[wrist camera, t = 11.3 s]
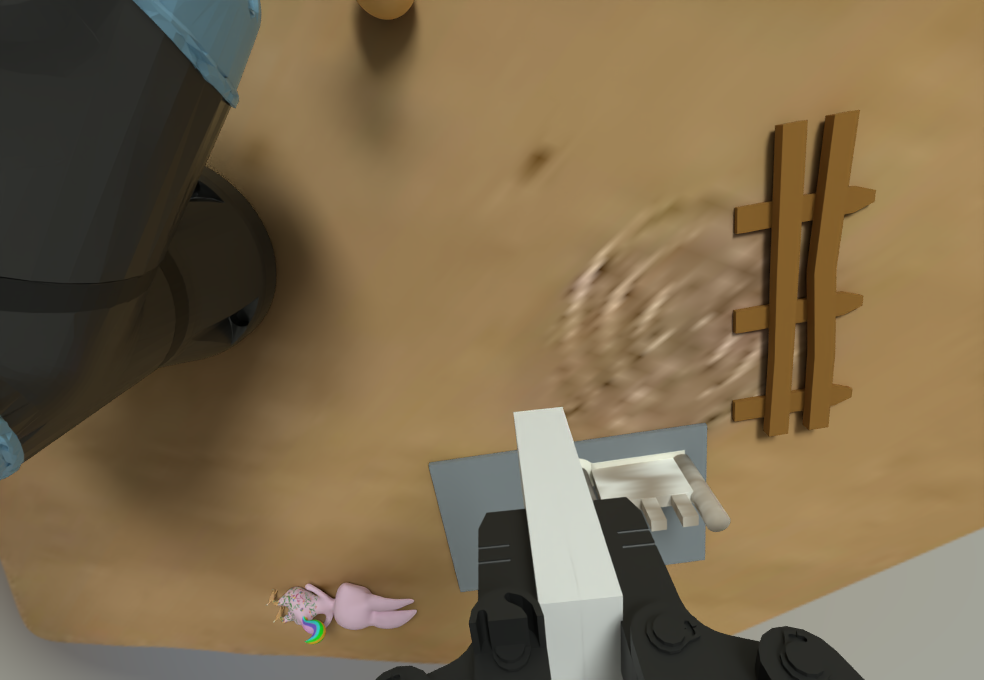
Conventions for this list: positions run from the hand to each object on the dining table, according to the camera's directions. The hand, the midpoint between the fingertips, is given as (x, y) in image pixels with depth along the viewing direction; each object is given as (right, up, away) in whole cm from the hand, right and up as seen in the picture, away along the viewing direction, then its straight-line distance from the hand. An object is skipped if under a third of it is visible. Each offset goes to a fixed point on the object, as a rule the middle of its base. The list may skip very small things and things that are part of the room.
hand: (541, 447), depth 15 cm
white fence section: (+11, -8, +29) cm, 32 cm away
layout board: (+6, -13, +31) cm, 34 cm away
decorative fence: (+23, +8, +24) cm, 34 cm away
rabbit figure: (-17, -22, +35) cm, 44 cm away
